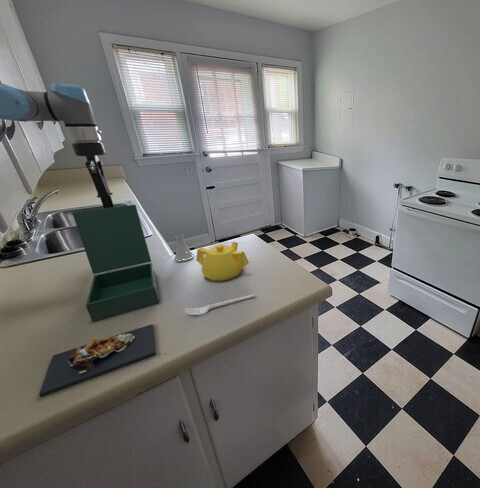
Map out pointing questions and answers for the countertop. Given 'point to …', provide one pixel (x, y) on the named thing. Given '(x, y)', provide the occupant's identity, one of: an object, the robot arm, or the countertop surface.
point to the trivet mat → (98, 361)
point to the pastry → (98, 350)
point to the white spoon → (205, 309)
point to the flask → (182, 249)
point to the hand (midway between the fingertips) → (111, 214)
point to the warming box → (122, 291)
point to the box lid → (112, 237)
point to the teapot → (221, 262)
